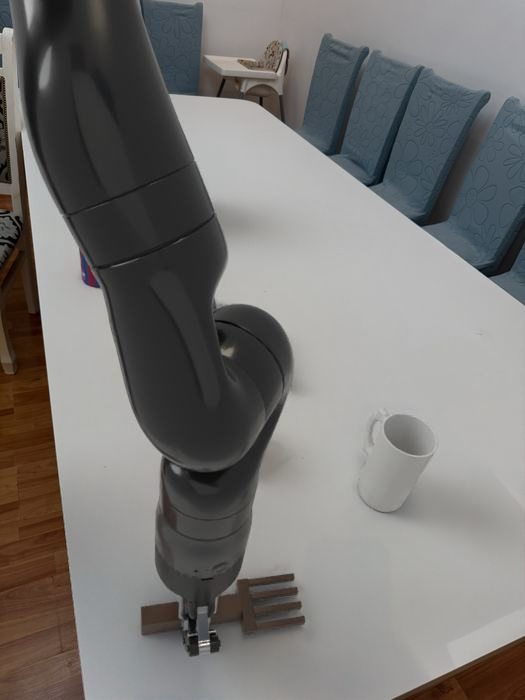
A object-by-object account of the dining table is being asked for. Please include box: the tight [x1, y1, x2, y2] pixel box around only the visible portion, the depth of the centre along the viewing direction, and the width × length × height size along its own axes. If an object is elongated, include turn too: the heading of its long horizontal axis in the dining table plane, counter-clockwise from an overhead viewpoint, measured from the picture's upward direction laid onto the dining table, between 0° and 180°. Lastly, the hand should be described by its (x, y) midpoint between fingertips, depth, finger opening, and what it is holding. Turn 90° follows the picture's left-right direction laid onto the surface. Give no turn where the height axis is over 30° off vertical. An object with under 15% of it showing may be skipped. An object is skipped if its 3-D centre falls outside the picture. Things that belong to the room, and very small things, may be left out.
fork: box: [140, 572, 306, 636], centre depth 51 cm, size 16×5×2 cm, turn 101°
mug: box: [357, 406, 439, 513], centre depth 64 cm, size 10×7×12 cm, turn 23°
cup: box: [78, 248, 101, 288], centre depth 93 cm, size 7×10×7 cm
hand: (191, 617), depth 51 cm, fingers closed
